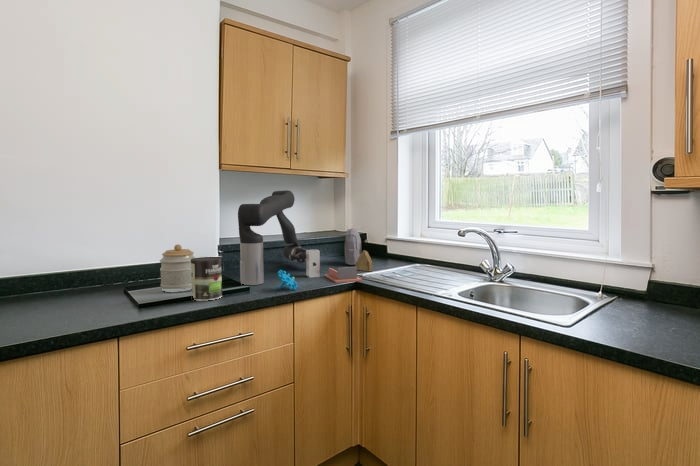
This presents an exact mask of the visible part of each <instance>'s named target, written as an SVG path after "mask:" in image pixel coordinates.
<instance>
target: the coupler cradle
mask: <svg viewBox="0 0 700 466" xmlns="http://www.w3.org/2000/svg"><path fill="white" fill-rule="evenodd" d="M324 277H326V278H327V279H328V280H330V281H332V282H333V283H335V284H341V283H351V282H352V283H355V282H363V278H361V277H359V276H358V270H357V267H355V266H351V267H350V266H349V267H347V266H344V267H337V270H336V269H334V268H333V267H329V268H328V273H325V274H324Z"/></svg>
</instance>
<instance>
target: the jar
mask: <svg viewBox="0 0 700 466" xmlns="http://www.w3.org/2000/svg"><path fill="white" fill-rule="evenodd" d="M194 254H195V253H194V251H192V250H190V249H189V248H187V249H185V248H182V245H181V244H179V243H178V244H175V245H174V247H173V249H169V250H166V251H165V252H163V253H161V256H162V257H161V259H159V262H160V263H161V267H160V268H159V271H160V289H161V288H163V289H186V288H191V287H192V277H191V259H193V258H196V257H195V256H194Z"/></svg>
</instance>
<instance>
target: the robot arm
mask: <svg viewBox="0 0 700 466" xmlns="http://www.w3.org/2000/svg"><path fill="white" fill-rule="evenodd" d="M295 199H296V198H295V194H294V193H293V192H292V191H291V190H289V189H287V190H276V191H275V190H274V191H273V192H272V194H271V195H269V196H267V197H264V198H263V199H261V201H260V202H259V203H241V204H240V205H239V206H238V210H237V222H238V235H239V247H240V259H239V267H240V268H239V275H240V276H239V277H240V279H239V281H240V284H241V285H242V284H244V285H243V286H258V285H262V284H264V282H265V279H264V276H265V275H264V274H265V273H264V272H265V271H264V236H263V235H262V234H259V233H257V232H255V231H253V230H252V229H251V227H261V226H263V225H265V224H266V223H267V222H268V221H269V220H270V219H271V218H272V217H275V216H276V218H277V220H278V223H279V226H280V230H281V233H282V238H283V241H284V243H285V244H288V245H287V246H285V247H284V248H283V250H282V254H283V256H284V257H285V258H286V259H288V260H290V261H291V262H293V261H296V262H298V263H299V264H302V263H306V250H307V249H306V248H303V247H302V246H301V244H300V243H299V240H298V238H297V233H296V228H295V226H294V224H293V222H291V220H289V218H288V217H287V216H286V215H285V213H284V211H285V210H286V209H291V208H292V207H293V206H294V204H295V201H296V200H295Z"/></svg>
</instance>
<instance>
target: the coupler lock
mask: <svg viewBox="0 0 700 466" xmlns="http://www.w3.org/2000/svg"><path fill="white" fill-rule="evenodd" d="M320 253H321V251H320V250H319V249H306V262H305V264H306V265H305V267H306V271H305V272H306V275H305V276H306V277H308V278H320V277H321V273H320V272H321V268H320V267H321V263H320V262H321V260H320V259H321V255H320Z"/></svg>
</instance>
